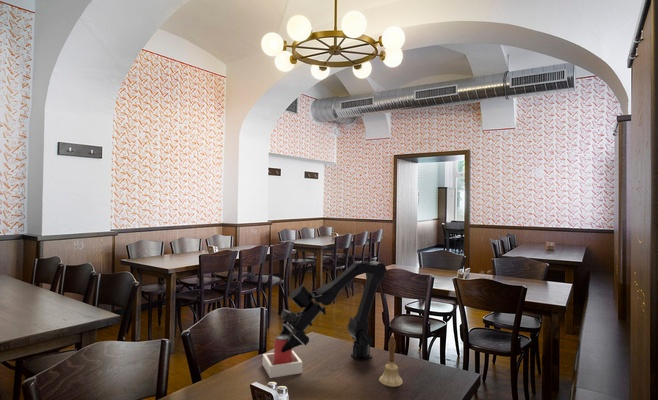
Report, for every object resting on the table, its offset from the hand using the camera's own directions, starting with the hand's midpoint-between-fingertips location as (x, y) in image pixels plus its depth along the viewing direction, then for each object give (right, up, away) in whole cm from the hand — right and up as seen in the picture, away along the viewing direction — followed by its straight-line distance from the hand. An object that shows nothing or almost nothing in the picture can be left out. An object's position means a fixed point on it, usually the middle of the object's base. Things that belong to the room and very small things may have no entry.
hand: (279, 348), depth 143 cm
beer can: (+1, -8, 0) cm, 8 cm away
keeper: (+1, -8, 0) cm, 8 cm away
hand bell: (+41, -9, -8) cm, 42 cm away
